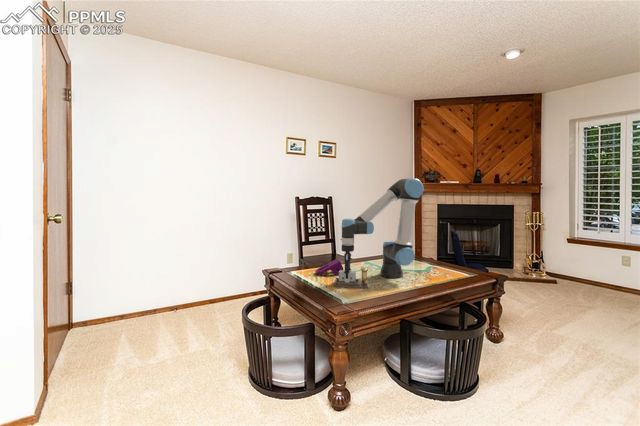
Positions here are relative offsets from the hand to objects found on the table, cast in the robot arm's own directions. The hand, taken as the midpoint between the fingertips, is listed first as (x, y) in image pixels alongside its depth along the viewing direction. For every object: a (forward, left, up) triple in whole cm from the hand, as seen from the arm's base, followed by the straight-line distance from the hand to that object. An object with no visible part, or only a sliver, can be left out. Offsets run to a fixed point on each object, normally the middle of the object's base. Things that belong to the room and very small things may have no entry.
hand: (347, 282), depth 199 cm
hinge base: (-3, 0, -1) cm, 3 cm away
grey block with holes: (0, 0, 0) cm, 0 cm away
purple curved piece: (+15, -24, -2) cm, 28 cm away
